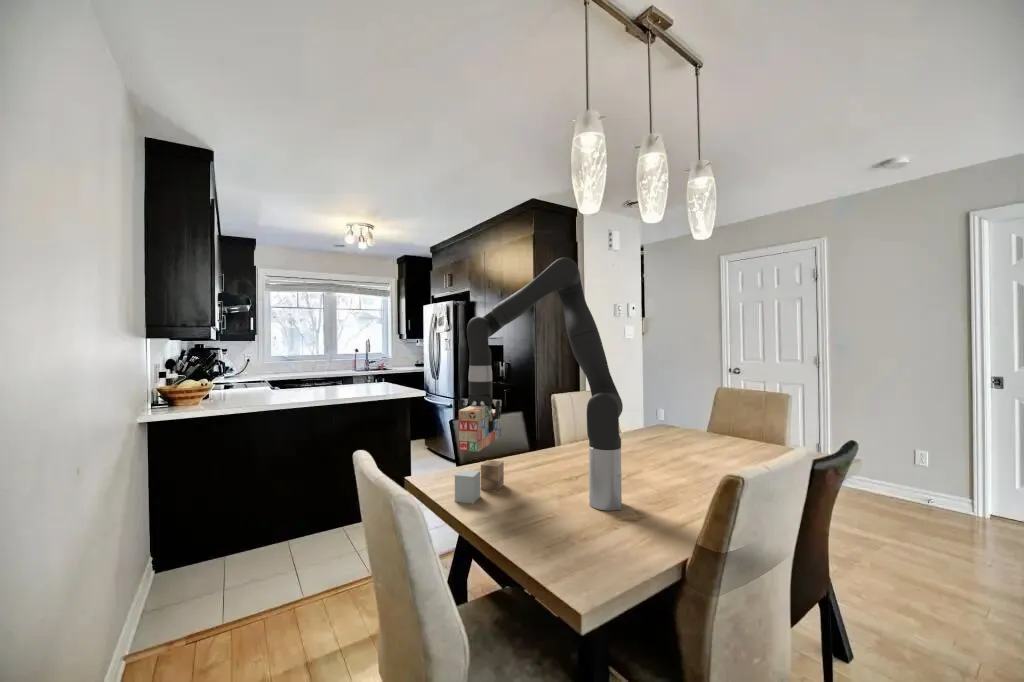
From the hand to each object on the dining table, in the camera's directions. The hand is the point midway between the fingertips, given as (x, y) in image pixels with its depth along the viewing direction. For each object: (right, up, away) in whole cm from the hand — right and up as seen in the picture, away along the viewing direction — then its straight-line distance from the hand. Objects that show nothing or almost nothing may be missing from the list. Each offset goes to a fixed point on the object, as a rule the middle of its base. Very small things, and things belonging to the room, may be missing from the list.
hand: (480, 431), depth 134 cm
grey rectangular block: (-4, -20, -5) cm, 21 cm away
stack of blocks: (0, -4, 0) cm, 4 cm away
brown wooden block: (+3, -20, +5) cm, 21 cm away
